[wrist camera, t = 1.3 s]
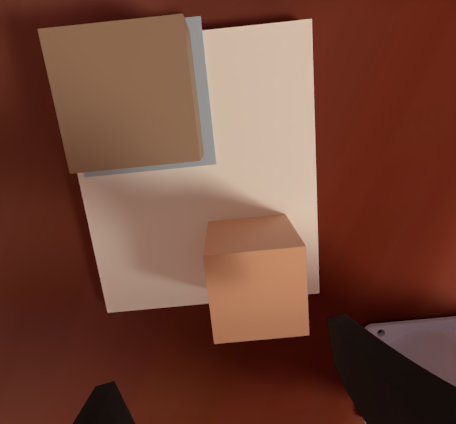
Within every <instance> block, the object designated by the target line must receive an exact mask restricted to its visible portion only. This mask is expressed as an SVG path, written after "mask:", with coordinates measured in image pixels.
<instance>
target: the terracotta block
mask: <svg viewBox="0 0 456 424" xmlns="http://www.w3.org/2000/svg"><path fill="white" fill-rule="evenodd" d="M203 259H204V267H205V275H206V283H207V291H208V299H209V307H210V315H211V323H212V331H213V339H214V344H221V343H232V342H243V341H254V340H265V339H276V338H287V337H298V336H309V313H308V286H307V260H306V246H305V244H304V242H303V241H302V239H301V238H300V236H299V235H298V233H297V231H296V230H295V228H294V227H293V225H292V224H291V222H290V220H289V219H288V217H287V216H286V214H282V215H271V216H261V217H251V218H240V219H230V220H219V221H209V222H208V227H207V234H206V240H205V247H204V253H203Z"/></svg>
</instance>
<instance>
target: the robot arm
mask: <svg viewBox="0 0 456 424" xmlns="http://www.w3.org/2000/svg"><path fill="white" fill-rule="evenodd" d="M327 321H328V328H329V334H330V341H331V347H332V354H333V360H334V365H335V367H336V369H337V371H338V374H339V376H340V378H341V380H342V382H343V384H344V386H345V388H346V390H347V392H348V394H349V396H350V398H351V399H352V401H353V403H354V404H355V406H356V407H357V409H358V411H359V412H360V414H361V416H362V417H363V420H364V422H365V423H366V424H456V316H453V317H442V318H431V319H420V320H409V321H398V322H387V323H376V324H369V325H367V326H366V327H365V328H364V327H363V326H361V325H360V324H359V323H357V322H356V321H355V320H353V319H352V318H351V317H349V316H348V315H346V314H345V313H344V314H341V315H338V316H334V317H331V318H327ZM379 330H382V331H381V332H380V333H377V332H378V331H379ZM73 424H135V422H134V420H133V418H132V416H131V414H130V412H129V410H128V408H127V406H126V404H125V402H124V400H123V398H122V396H121V394H120V392H119V390H118V388H117V386H116V384H115V382H114V381H113V382H109V383H106V384H102V385H99V386H96V387H95V388H94V390H93V392H92V393H91V395H90V396H89V398H88V400H87V401H86V403H85V405H84V406H83V408H82V409H81V411H80V413H79V414H78V416H77V418H76V419H75V421H74V423H73Z"/></svg>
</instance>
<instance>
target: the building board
mask: <svg viewBox="0 0 456 424" xmlns="http://www.w3.org/2000/svg"><path fill="white" fill-rule="evenodd" d="M37 30H38V34H39V39H40V43H41V48H42V52H43V56H44V61H45V65H46V70H47V74H48V79H49V83H50V88H51V92H52V97H53V101H54V106H55V110H56V115H57V119H58V124H59V128H60V133H61V137H62V142H63V146H64V150H65V155H66V159H67V164H68V168H69V173H70V174H73V173H77V175H78V180H79V184H80V189H81V193H82V198H83V203H84V207H85V212H86V216H87V221H88V226H89V230H90V235H91V239H92V244H93V249H94V253H95V258H96V262H97V267H98V272H99V276H100V281H101V285H102V290H103V295H104V299H105V304H106V308H107V313H112V312H123V311H133V310H144V309H155V308H166V307H177V306H188V305H198V304H209V299H208V291H207V283H206V275H205V267H204V259H203V253H204V247H205V240H206V234H207V227H208V222H209V221H219V220H230V219H240V218H251V217H261V216H271V215H282V214H286V216H287V217H288V219H289V220H290V222H291V224H292V225H293V227H294V228H295V230H296V231H297V233H298V235H299V236H300V238H301V239H302V241H303V242H304V244H305V246H306V260H307V286H308V294H317V293H319V257H318V221H317V185H316V149H315V113H314V76H313V40H312V19H306V20H296V21H286V22H277V23H267V24H258V25H248V26H239V27H229V28H220V29H210V30H202V24H201V16H197V17H188V18H184V15H183V14H174V15H164V16H155V17H145V18H136V19H127V20H117V21H108V22H98V23H89V24H79V25H70V26H60V27H51V28H41V29H37Z"/></svg>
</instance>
